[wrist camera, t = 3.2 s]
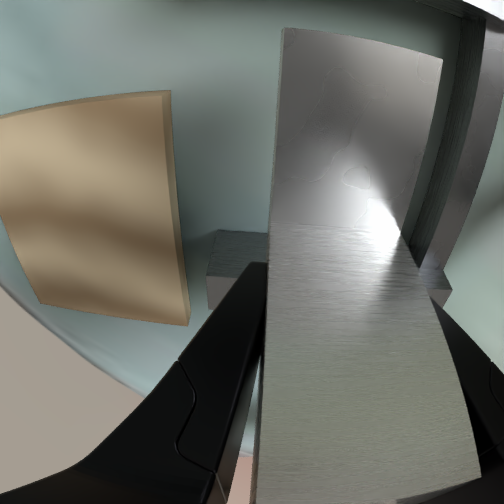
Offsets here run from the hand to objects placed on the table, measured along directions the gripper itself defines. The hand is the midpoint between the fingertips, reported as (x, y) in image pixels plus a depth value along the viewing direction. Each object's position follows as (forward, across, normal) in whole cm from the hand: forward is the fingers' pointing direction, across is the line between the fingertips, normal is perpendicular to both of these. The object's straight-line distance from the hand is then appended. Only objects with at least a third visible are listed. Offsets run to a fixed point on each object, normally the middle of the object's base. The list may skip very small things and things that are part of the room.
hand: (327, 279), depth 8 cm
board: (+8, +12, +4) cm, 15 cm away
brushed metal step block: (+3, 0, -2) cm, 3 cm away
